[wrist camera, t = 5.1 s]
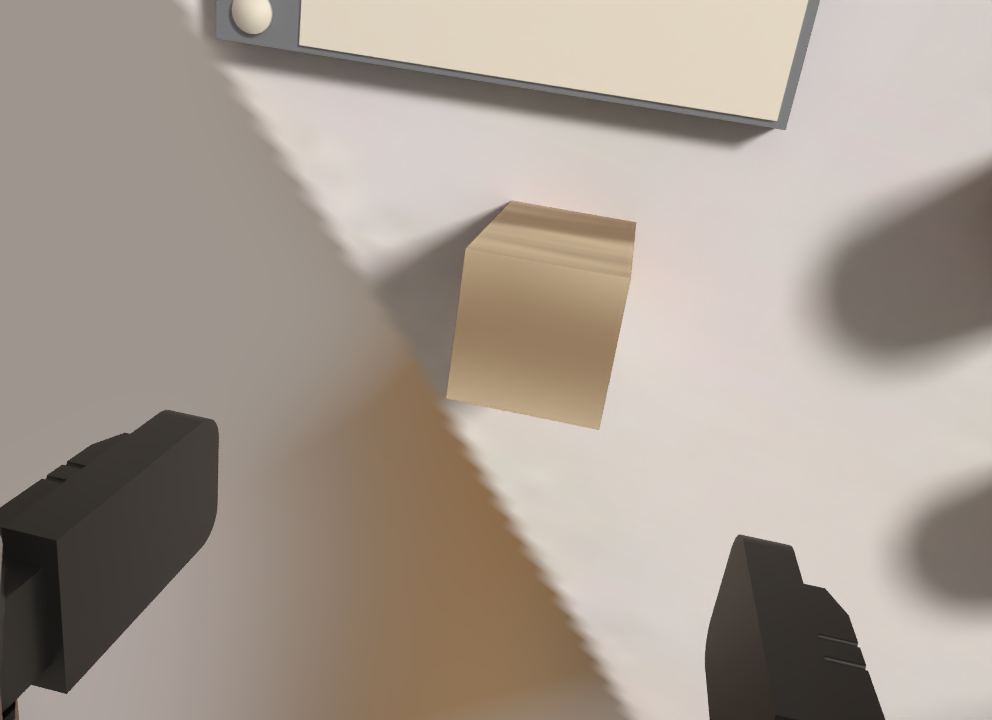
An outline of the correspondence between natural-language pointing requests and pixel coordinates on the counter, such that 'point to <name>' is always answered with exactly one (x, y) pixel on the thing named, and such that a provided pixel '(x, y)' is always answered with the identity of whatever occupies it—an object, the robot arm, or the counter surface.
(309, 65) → the counter surface
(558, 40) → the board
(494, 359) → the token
